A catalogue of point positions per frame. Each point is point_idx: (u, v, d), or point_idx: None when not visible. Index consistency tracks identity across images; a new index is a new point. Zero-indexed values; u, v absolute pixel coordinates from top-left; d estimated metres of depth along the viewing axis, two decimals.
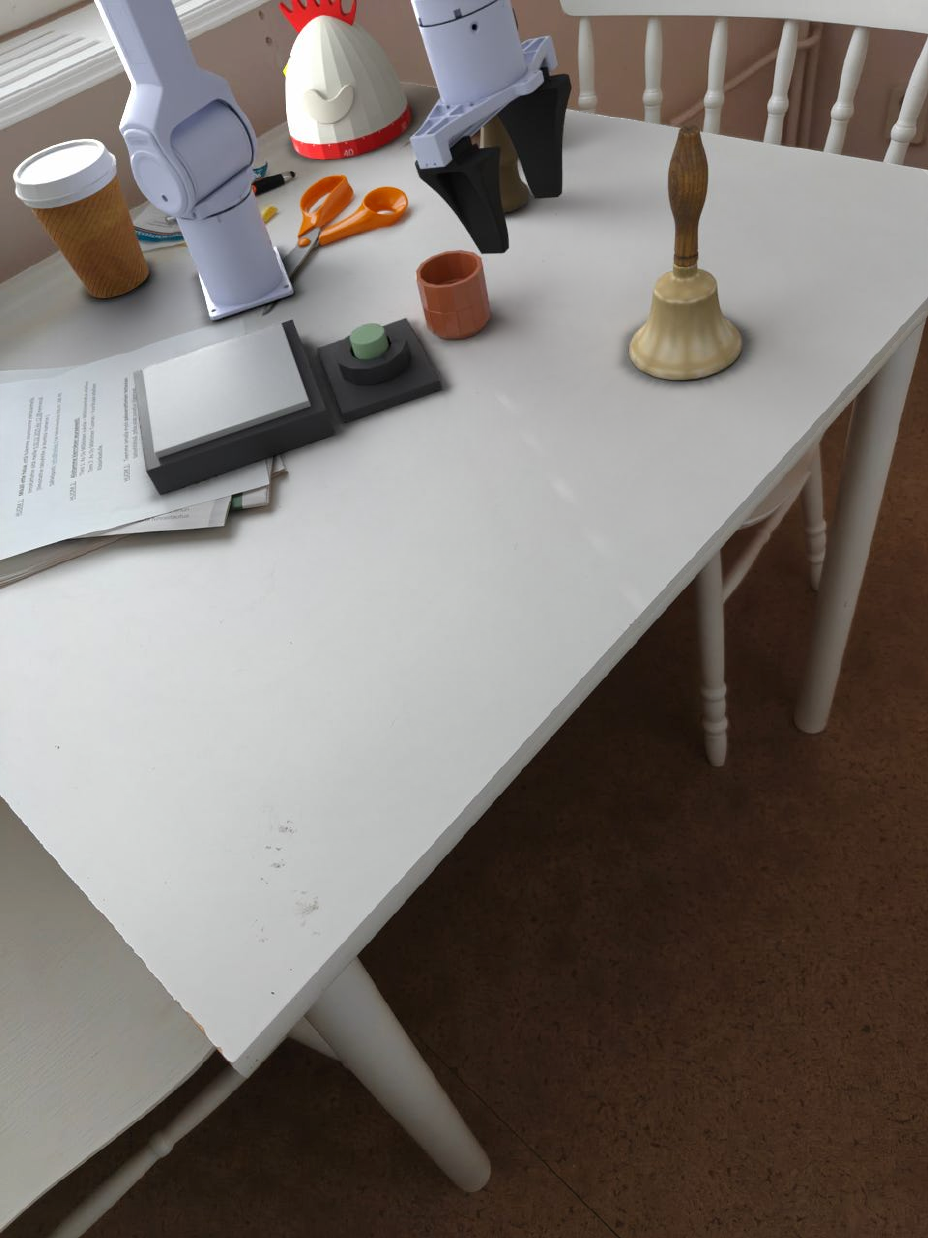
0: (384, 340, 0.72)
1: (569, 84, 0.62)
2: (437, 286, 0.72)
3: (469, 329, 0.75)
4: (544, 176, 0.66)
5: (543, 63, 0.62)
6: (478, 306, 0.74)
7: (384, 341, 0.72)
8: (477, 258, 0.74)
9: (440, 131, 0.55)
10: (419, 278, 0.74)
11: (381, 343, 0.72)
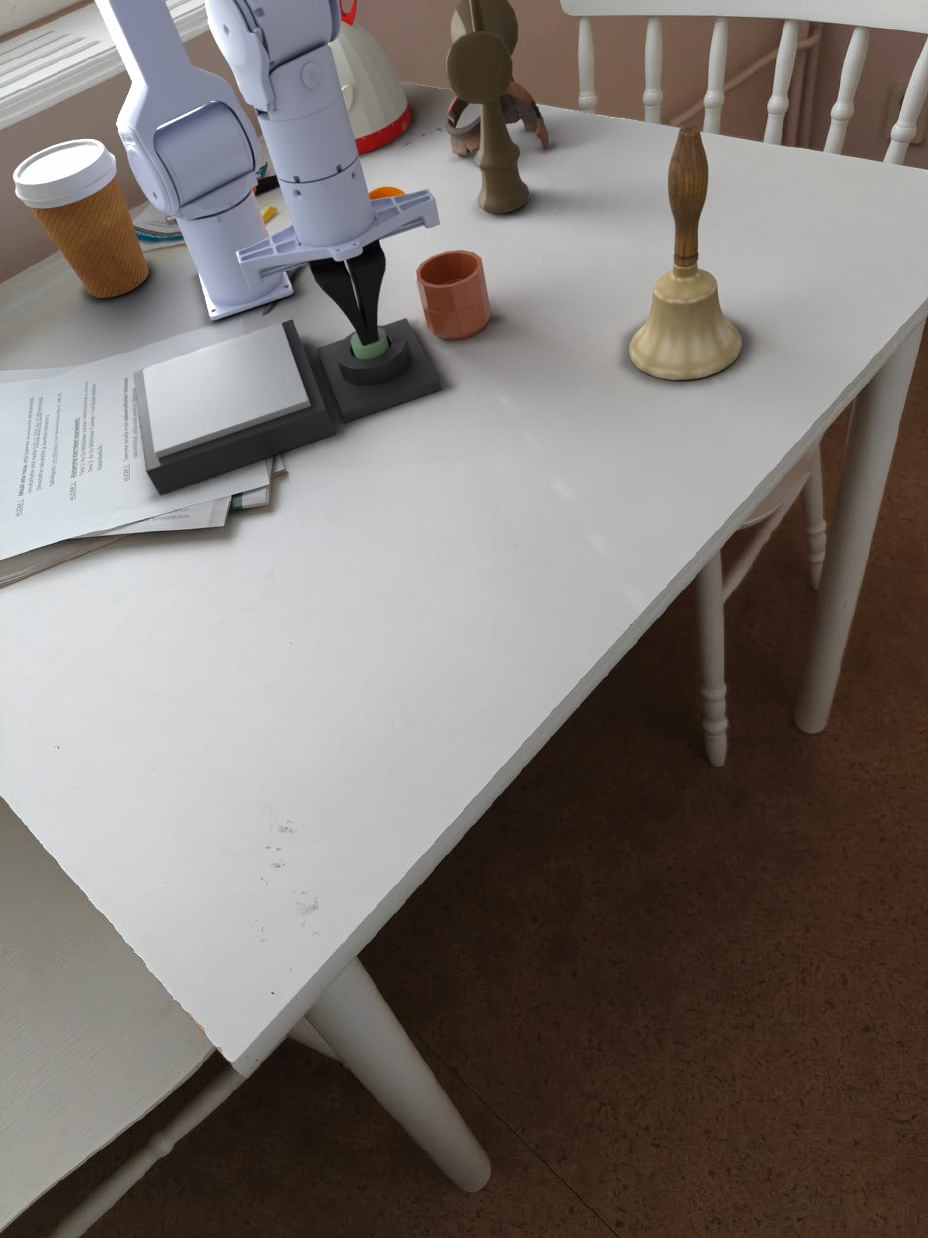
0: (385, 343, 0.72)
1: (377, 267, 0.66)
2: (437, 286, 0.72)
3: (469, 329, 0.75)
4: (364, 321, 0.71)
5: (422, 219, 0.67)
6: (478, 306, 0.74)
7: (385, 344, 0.72)
8: (477, 258, 0.74)
9: (247, 262, 0.65)
10: (419, 278, 0.74)
11: (382, 347, 0.72)
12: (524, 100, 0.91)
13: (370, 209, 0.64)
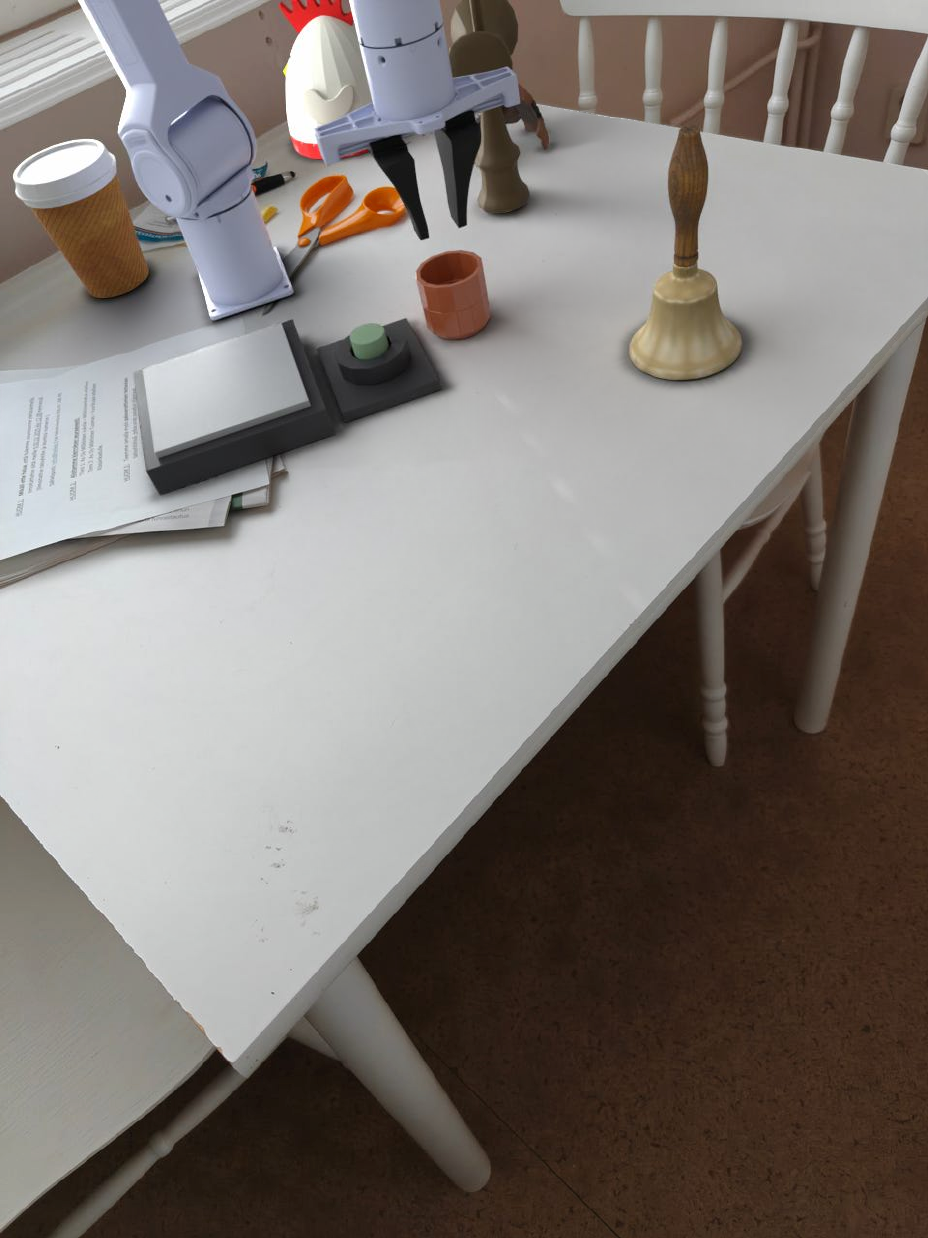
0: (384, 340, 0.72)
1: (473, 140, 0.65)
2: (437, 286, 0.72)
3: (469, 329, 0.75)
4: (452, 204, 0.70)
5: (503, 97, 0.65)
6: (478, 306, 0.74)
7: (384, 341, 0.72)
8: (477, 258, 0.74)
9: (327, 137, 0.63)
10: (419, 278, 0.74)
11: (381, 343, 0.72)
12: (524, 100, 0.91)
13: (452, 83, 0.63)
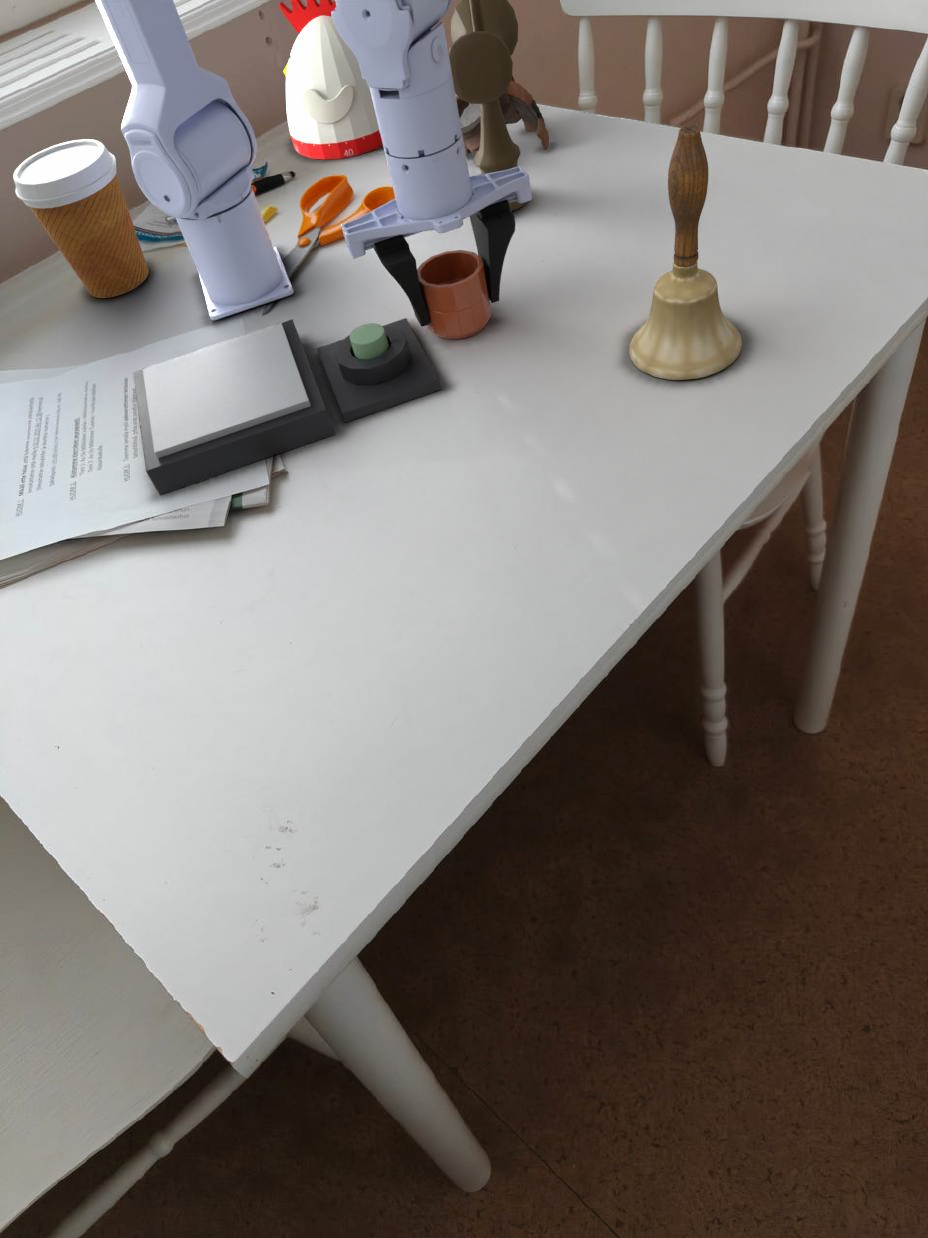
0: (384, 340, 0.72)
1: (508, 228, 0.70)
2: (437, 286, 0.72)
3: (469, 329, 0.75)
4: (486, 282, 0.75)
5: (516, 194, 0.71)
6: (478, 306, 0.74)
7: (384, 341, 0.72)
8: (477, 258, 0.74)
9: (353, 234, 0.69)
10: (419, 278, 0.74)
11: (381, 343, 0.72)
12: (524, 100, 0.91)
13: (469, 184, 0.68)
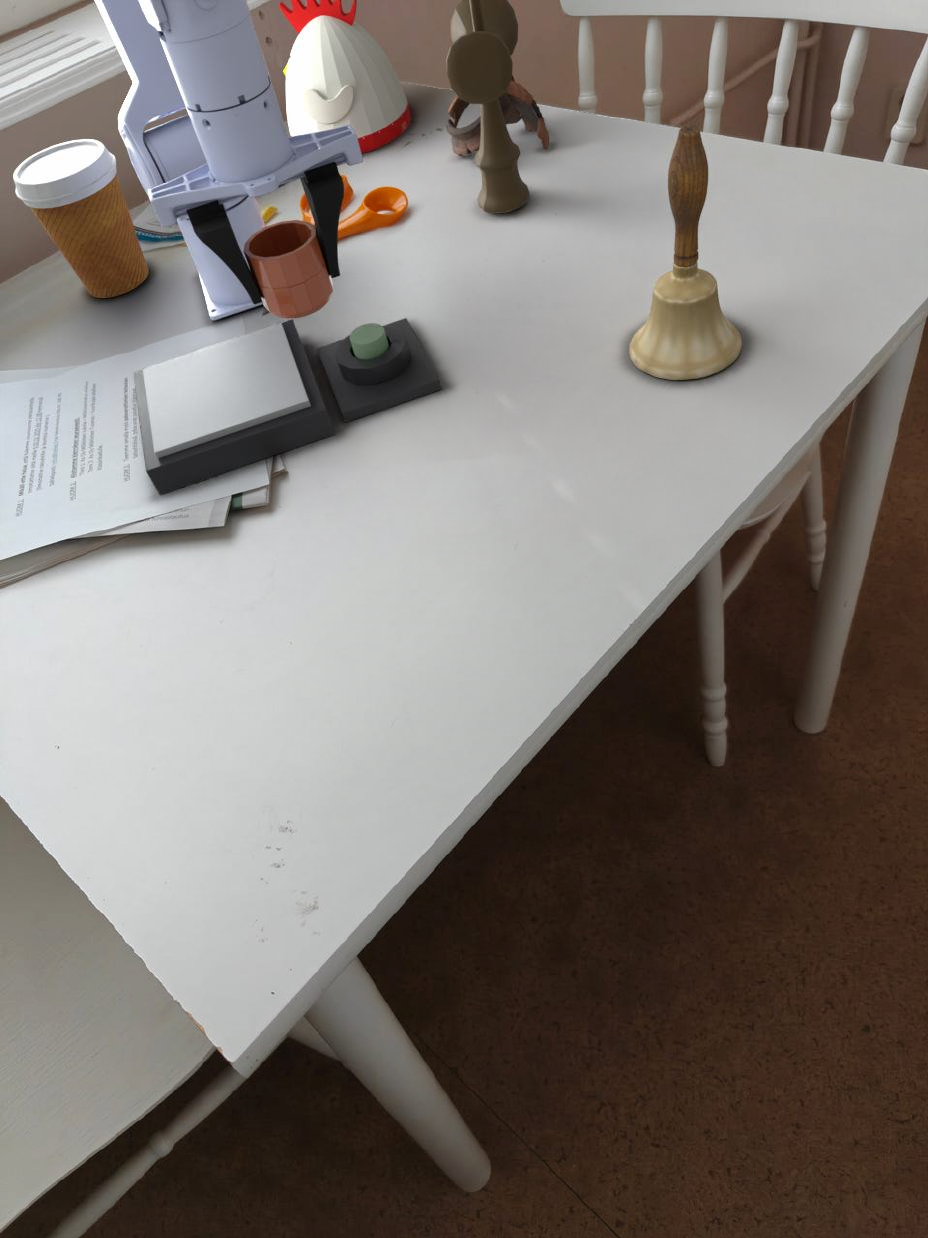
0: (384, 340, 0.72)
1: (335, 193, 0.63)
2: (263, 258, 0.65)
3: (306, 307, 0.68)
4: (324, 255, 0.69)
5: (344, 155, 0.64)
6: (314, 281, 0.67)
7: (384, 341, 0.72)
8: (311, 228, 0.67)
9: (159, 199, 0.62)
10: (247, 250, 0.67)
11: (381, 343, 0.72)
12: (524, 100, 0.91)
13: (287, 143, 0.61)
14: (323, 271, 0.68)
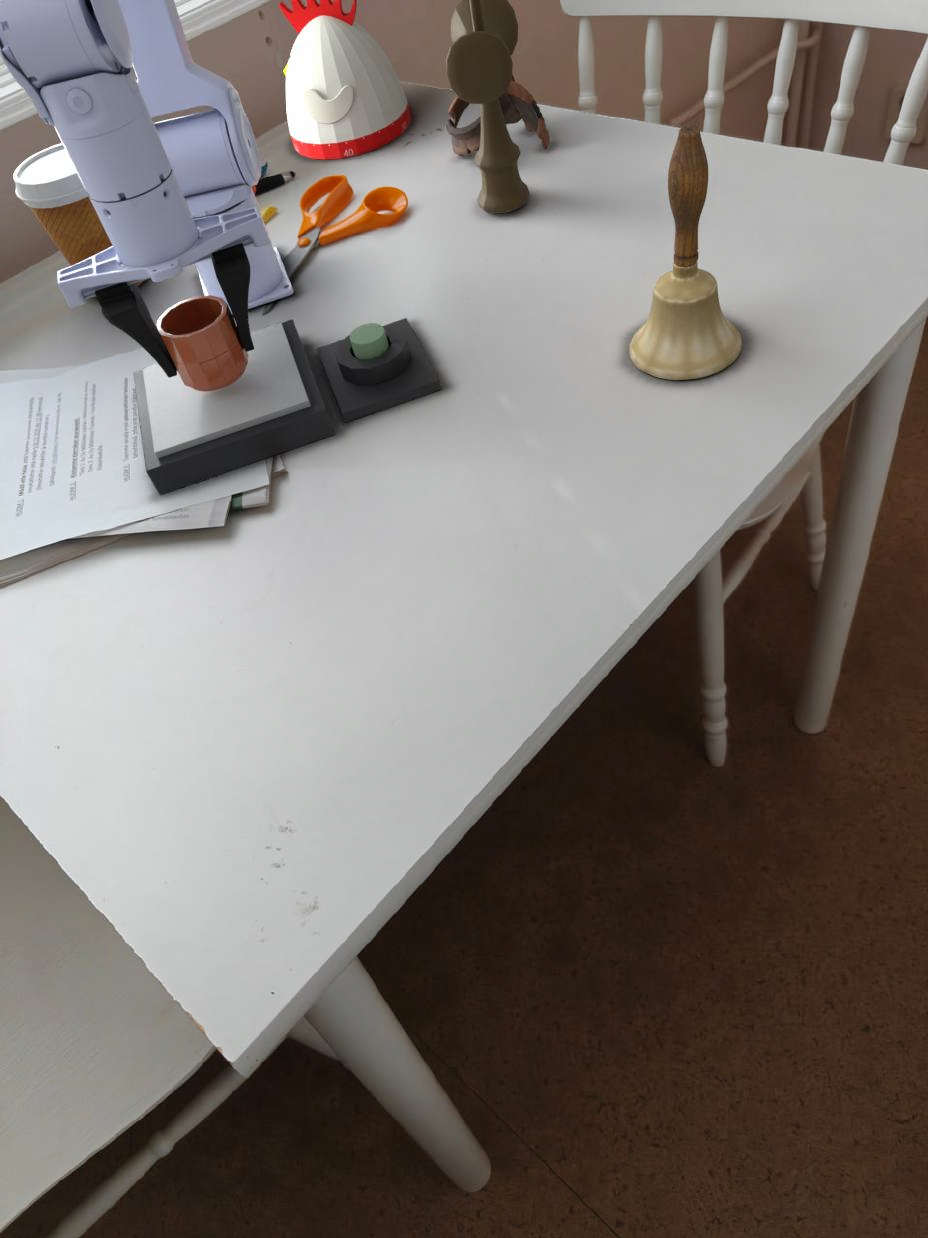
0: (384, 340, 0.72)
1: (240, 275, 0.64)
2: (173, 336, 0.67)
3: (219, 381, 0.69)
4: None
5: (251, 237, 0.65)
6: (225, 357, 0.69)
7: (384, 341, 0.72)
8: (223, 305, 0.68)
9: (65, 282, 0.63)
10: (159, 327, 0.68)
11: (381, 343, 0.72)
12: (524, 100, 0.91)
13: (191, 228, 0.63)
14: (235, 346, 0.69)
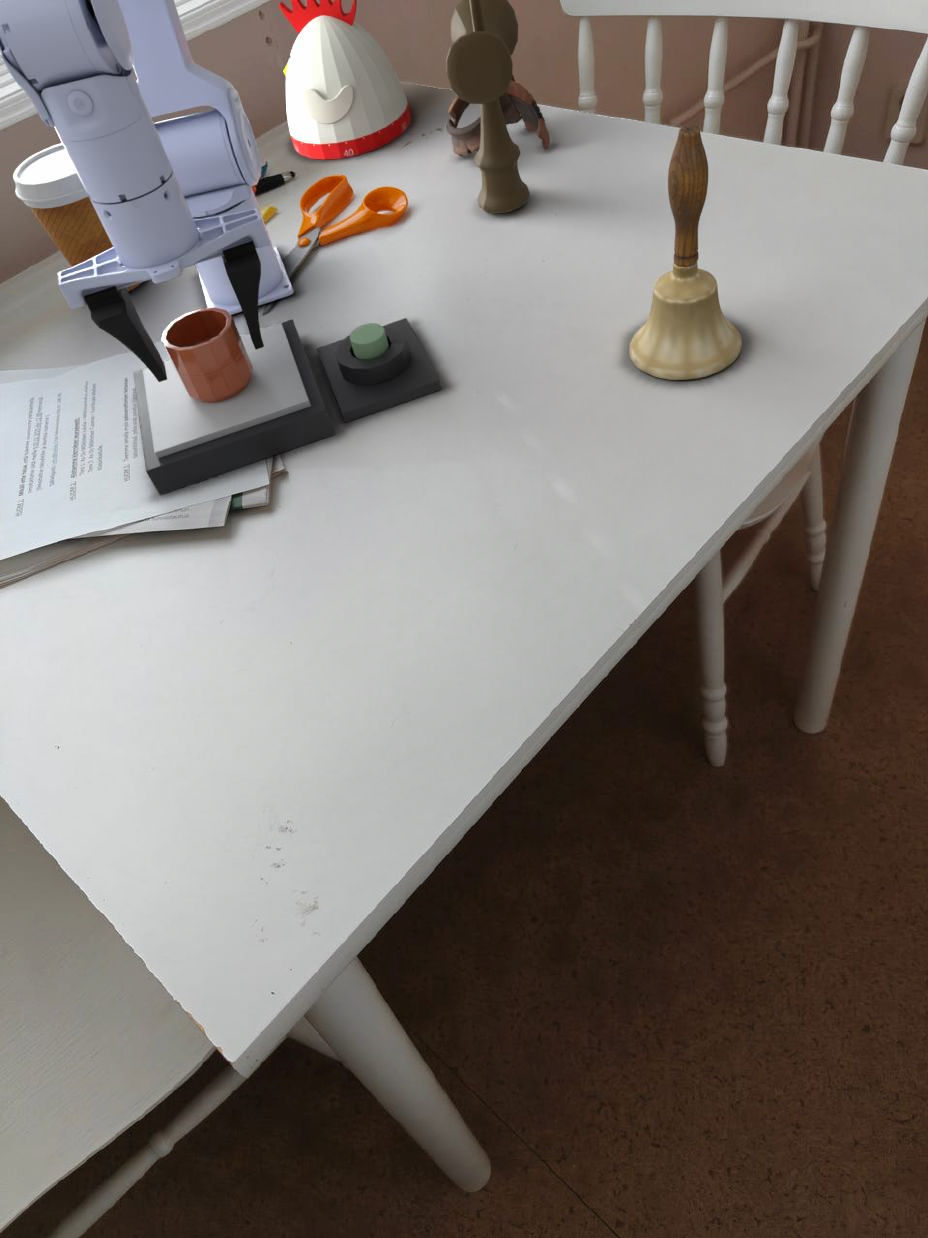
0: (384, 340, 0.72)
1: (251, 273, 0.64)
2: (179, 349, 0.67)
3: (223, 392, 0.70)
4: None
5: (251, 238, 0.65)
6: (230, 368, 0.69)
7: (384, 341, 0.72)
8: (228, 317, 0.69)
9: (66, 284, 0.63)
10: (164, 339, 0.69)
11: (381, 343, 0.72)
12: (525, 100, 0.91)
13: (191, 229, 0.63)
14: (240, 358, 0.70)
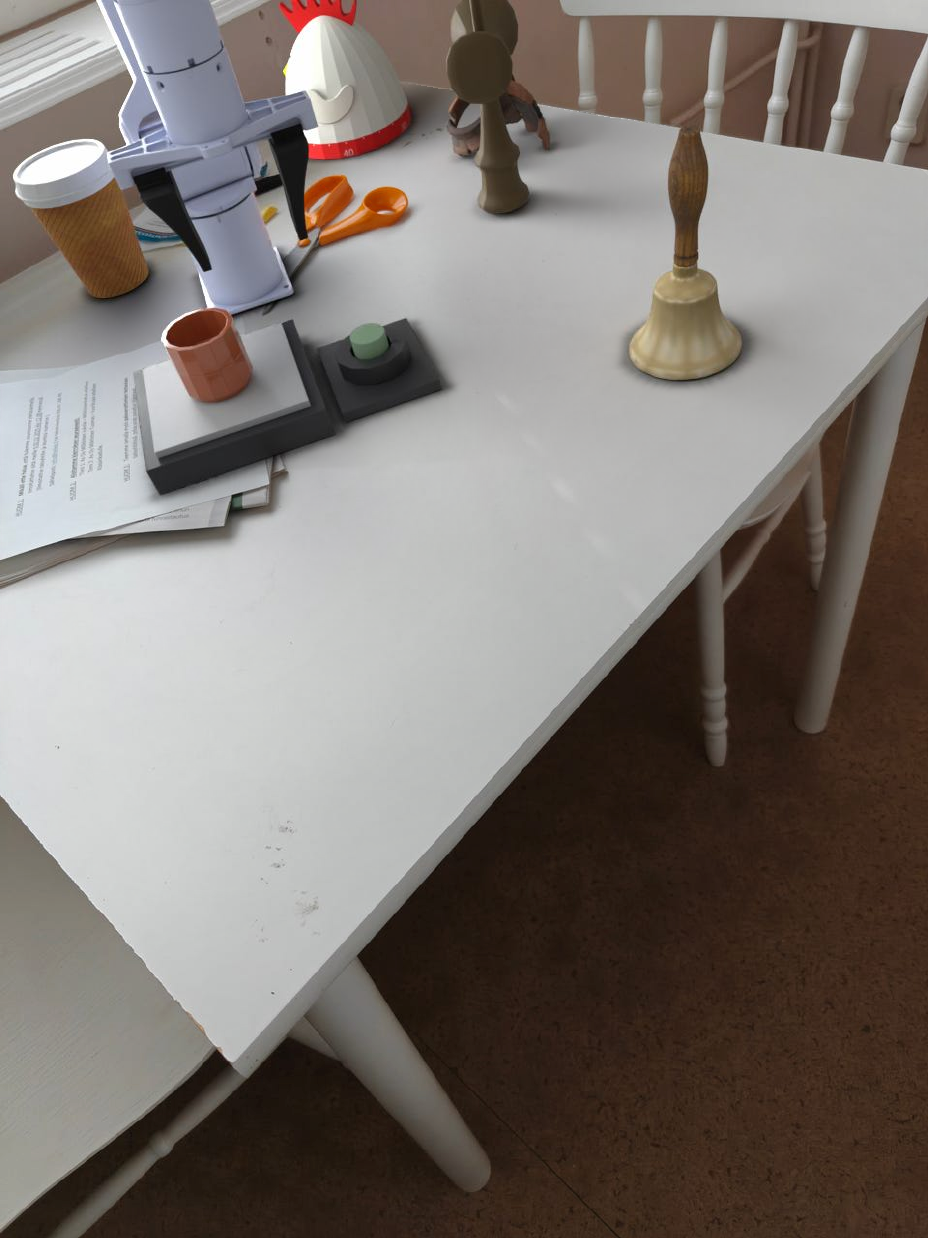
0: (384, 340, 0.72)
1: (299, 153, 0.65)
2: (179, 349, 0.67)
3: (223, 392, 0.70)
4: (292, 217, 0.70)
5: (300, 120, 0.65)
6: (230, 368, 0.69)
7: (384, 341, 0.72)
8: (228, 317, 0.69)
9: (117, 161, 0.63)
10: (164, 339, 0.69)
11: (381, 343, 0.72)
12: (525, 100, 0.91)
13: (241, 107, 0.63)
14: (240, 358, 0.70)
